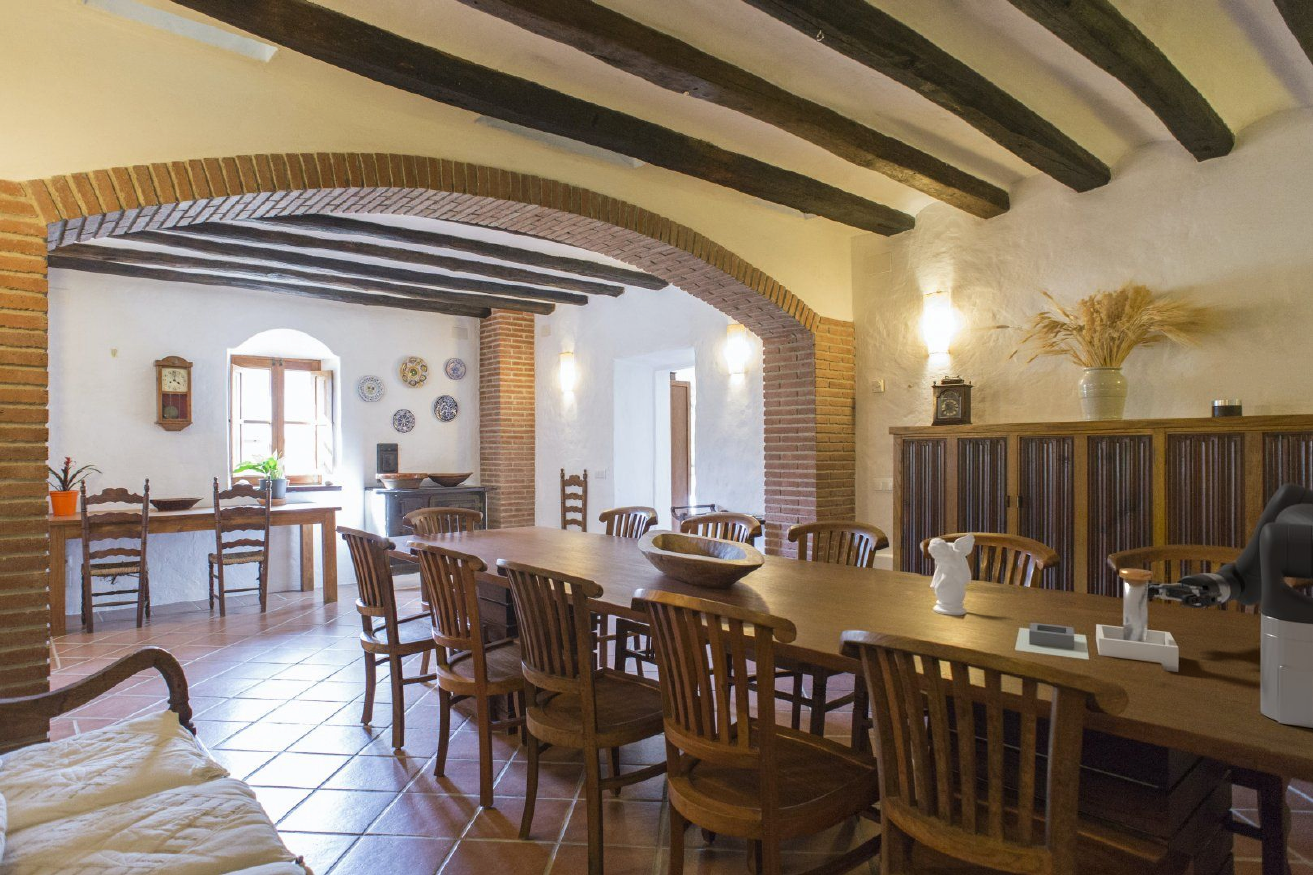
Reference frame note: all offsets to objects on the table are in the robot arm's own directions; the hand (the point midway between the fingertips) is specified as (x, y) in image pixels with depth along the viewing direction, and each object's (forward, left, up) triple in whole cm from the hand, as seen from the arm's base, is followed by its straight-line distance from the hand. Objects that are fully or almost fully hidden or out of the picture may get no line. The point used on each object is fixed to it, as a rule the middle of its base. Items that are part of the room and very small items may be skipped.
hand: (1163, 596), depth 166 cm
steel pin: (-9, +6, -11) cm, 16 cm away
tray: (-9, +6, -12) cm, 16 cm away
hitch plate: (-10, +22, -12) cm, 27 cm away
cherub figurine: (+19, +47, -13) cm, 52 cm away
